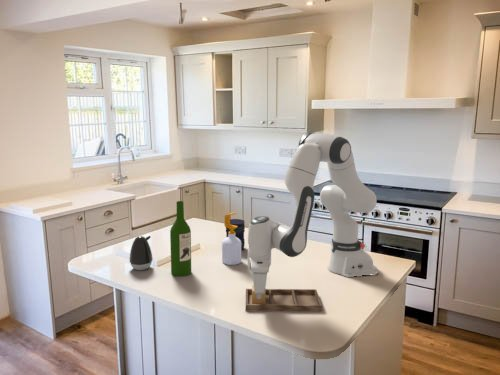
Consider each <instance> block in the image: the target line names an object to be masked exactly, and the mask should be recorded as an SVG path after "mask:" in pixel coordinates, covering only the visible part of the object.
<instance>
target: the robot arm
mask: <svg viewBox="0 0 500 375" xmlns="http://www.w3.org/2000/svg"><path fill="white" fill-rule="evenodd" d="M353 153H354V152H353V151H352V145H351V144H350V141H349V140H348V139H346V138H344V137H342V136H337V135H334V134H330V133H320V132H319V133H318V132H315V131H314V132H313V131H311V132H306V133H304V134H303V135H302V136H301V137H300V139H299V141H298V145H297V148H296V150H295V152H294V154H293V156H292V157H291V160H290V162H289V164H288V167H287V170H286V172H285V176H284V184H285V186H286V188H287V190H288V192H289V193H290V194H291V195H292V196H293V197H294V200H295V211H294V214H293V217H292V222H291V226H290V225H288V224H285V223H282V222H278V221H275V220H272V219H271V218H270V217H269V216H265V215H262V216H256V217H254V218H252V219H250V222H249V224H248V230H247V244H248V249H247V266H248V267H249V269H250V273H251V275H252V282H253V284H252V285H254V292H255V293H257V299H261V295H262V294H263V293H264V292H265V289H266V286H267V278H268V273H269V272H270V271H269V270H270V267H271V265H272V250H273V249H276V250H278V251H280V252H281V253H283V254H284V255H286V256H288V257H289V258H294V257H298V256H299V255H301V254H302V253H303V252H304V251H305V249H306V247H307V244H308V243H307V242H308V231H309V226H310V221H311V218H312V217H311V216H312V211H313V208H314V202H315V195H316V194H315V191H314V186H315V185H314V184H315V180H316V177H317V174H318V171H319V167H320V162H323V163H327V167H328V171H329V178H330V181H331V182H332V183H333V184H327V185H324V186H323V188H322V189H321V191H320V194H319V200H320V202H321V204H322V206H324V207H325V208H326V210H327V211H328V214H329V215H330V218H331V220H332V238H331V244H330V251H331V252H330V253H331V255H330V259H329V263H328V266H327V269H328V270H329V271H330V272H331V273H334V274H338V275H341V276H343V277H346V278H355V277H354V276H357V277H363V276H362V275H370V274H377V273H378V274H379V268H378V267H377V266H376V265H375V264H374V260H373V257H372V256H371V255H370V254H369V253H367V252H366V251H365V250H364V249H365V247H366V245H365V244H364V243H363V242H362V241H361V240H359V224H358V222H357V221H356V219H354V218H353V217H352V216H351V215H350V213H349V212H352V213H353V212H354V213H359V214H363V213H364V214H365V213H368V214H369V213H372V212H373V210H375V208H376V206H377V203H378V202H377V201H378V199H377V196H376V194H375V192H374V191H373V190H371V189H370V188H368V186H366V184H364V183H363V181H362V180H361V179H360V177H359V175H358V173H357V169H356V163H355V159H354V158H355V157H354V154H353Z"/></svg>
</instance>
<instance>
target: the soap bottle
mask: <svg viewBox="0 0 500 375" xmlns="http://www.w3.org/2000/svg"><path fill="white" fill-rule="evenodd" d="M235 214H237V211H235V212H230V213H228V214H225V216H224V227H225V229H226V228H229V229H230V232H228V237H227V238H226V237H225V238H224V239H223V240H222V242H221V244H222V246H221V247H222V249H221V251H222V252H221V253H222V255H221V261H222V263H223V264H225V265H228V266H237V265H239V264H241V263H242V251H241V240H240V239H238V238H237V237H235V232H234V229H235V228H237V227H238V226H235V225H231V224H230V219H231V216H232V215H235Z"/></svg>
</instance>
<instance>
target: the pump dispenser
mask: <svg viewBox="0 0 500 375" xmlns="http://www.w3.org/2000/svg"><path fill="white" fill-rule="evenodd" d="M150 238H151V235H148V236H147V237H145V236H143V235H141V236H137V237H135V239H134V240H133V242H132V244H131V247H130V252H129V263H130V266H131V267H132V268H133V269H134V270H137V271H145V270H148V269H149V268H150V267H151V265H152V263H153V260H154V259H153V258H154V257H153V253H152V249H151V246H150V243H149V240H150Z"/></svg>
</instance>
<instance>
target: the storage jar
mask: <svg viewBox="0 0 500 375" xmlns="http://www.w3.org/2000/svg"><path fill="white" fill-rule="evenodd" d="M230 224H231V225H235V226H238V227H237V228H235V229H234V232H235V237H237V238H238V239H240V240H241V252H243V251H245V228H246V226H245V225H246V224H245V220H243V219H239V218H230ZM225 232H226V235H225V236H226V237H225V238H227V237H228V232H230V229H229V228H226V227H225Z"/></svg>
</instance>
